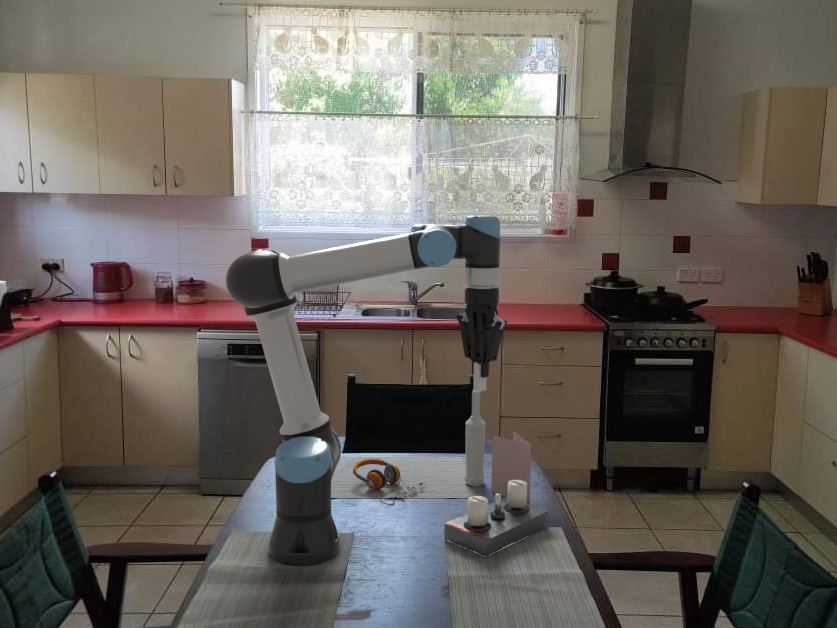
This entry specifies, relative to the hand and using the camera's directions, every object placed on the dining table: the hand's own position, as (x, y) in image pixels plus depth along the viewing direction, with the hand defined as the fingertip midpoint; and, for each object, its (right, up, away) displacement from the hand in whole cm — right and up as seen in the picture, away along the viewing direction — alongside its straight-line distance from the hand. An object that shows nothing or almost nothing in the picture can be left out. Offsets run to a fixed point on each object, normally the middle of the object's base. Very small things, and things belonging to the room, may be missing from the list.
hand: (479, 390), depth 182 cm
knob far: (+9, -27, +6) cm, 29 cm away
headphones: (-22, -28, +28) cm, 46 cm away
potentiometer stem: (+4, -29, +1) cm, 29 cm away
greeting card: (+10, -29, +24) cm, 39 cm away
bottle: (+1, -28, +32) cm, 43 cm away
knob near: (-1, -28, -4) cm, 29 cm away
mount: (+4, -33, +2) cm, 33 cm away
